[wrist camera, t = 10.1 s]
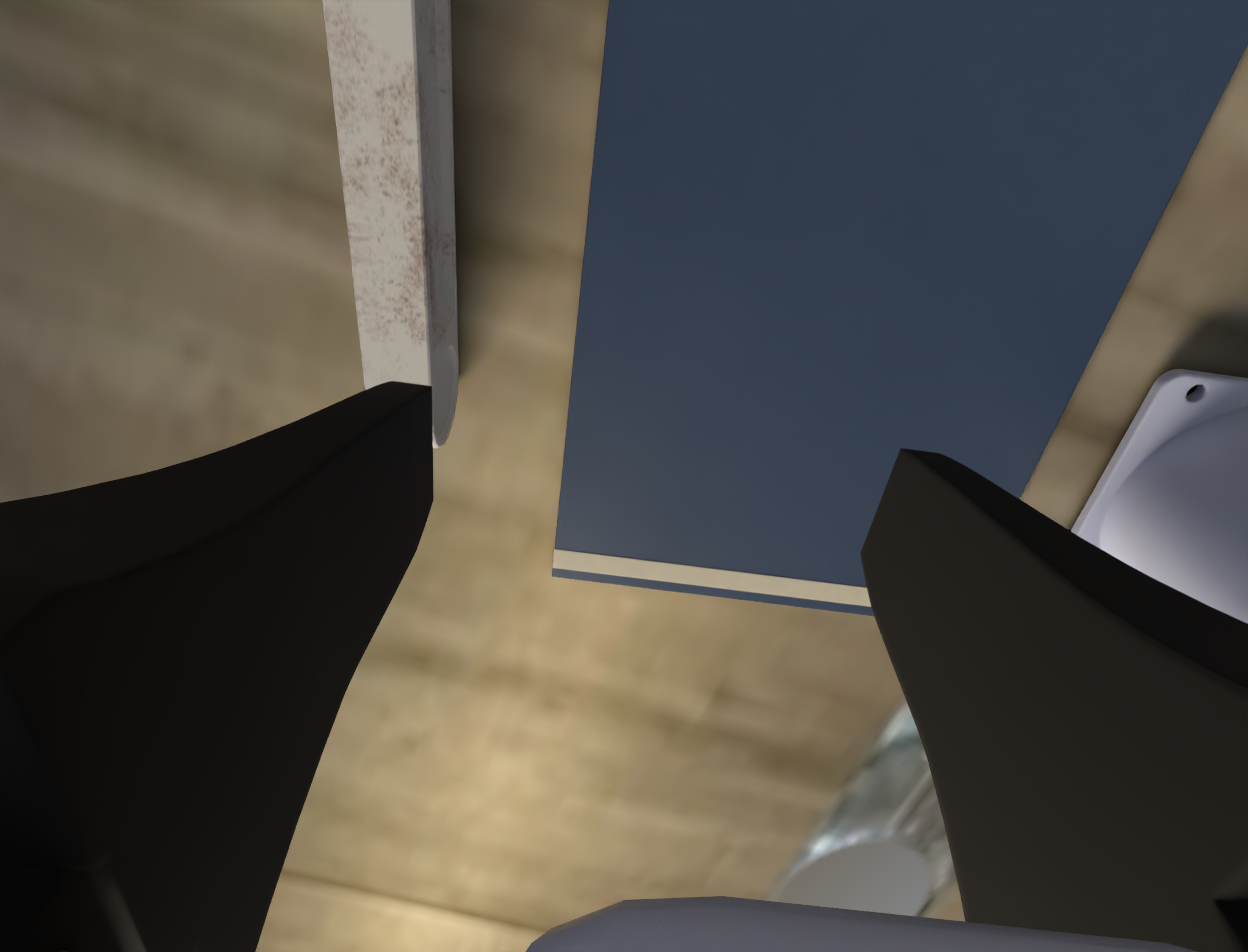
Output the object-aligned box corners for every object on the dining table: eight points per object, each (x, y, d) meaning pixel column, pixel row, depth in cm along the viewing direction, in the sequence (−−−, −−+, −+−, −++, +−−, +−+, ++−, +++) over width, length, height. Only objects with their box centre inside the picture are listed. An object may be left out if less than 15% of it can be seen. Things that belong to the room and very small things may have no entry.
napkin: (2205, -1888, 7) (2249, -1942, 7) (953, 622, 25) (955, 626, 25) (836, -2279, 7) (842, -2347, 6) (552, 573, 24) (551, 577, 24)
